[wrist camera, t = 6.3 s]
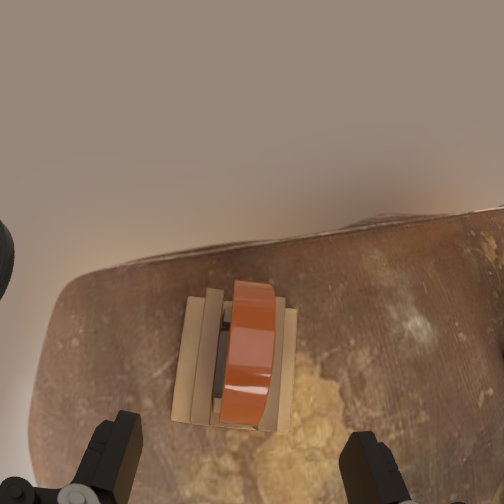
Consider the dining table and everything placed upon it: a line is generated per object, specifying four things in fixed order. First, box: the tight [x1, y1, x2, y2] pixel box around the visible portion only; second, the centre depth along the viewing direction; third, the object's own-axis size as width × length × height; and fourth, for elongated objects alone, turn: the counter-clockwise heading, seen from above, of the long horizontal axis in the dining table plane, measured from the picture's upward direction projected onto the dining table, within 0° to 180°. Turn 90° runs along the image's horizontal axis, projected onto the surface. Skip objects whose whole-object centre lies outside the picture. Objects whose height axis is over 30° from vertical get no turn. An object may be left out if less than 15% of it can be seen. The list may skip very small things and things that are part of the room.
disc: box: [218, 279, 276, 426], centre depth 17 cm, size 2×8×8 cm, turn 175°
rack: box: [171, 288, 297, 432], centre depth 21 cm, size 8×9×4 cm
